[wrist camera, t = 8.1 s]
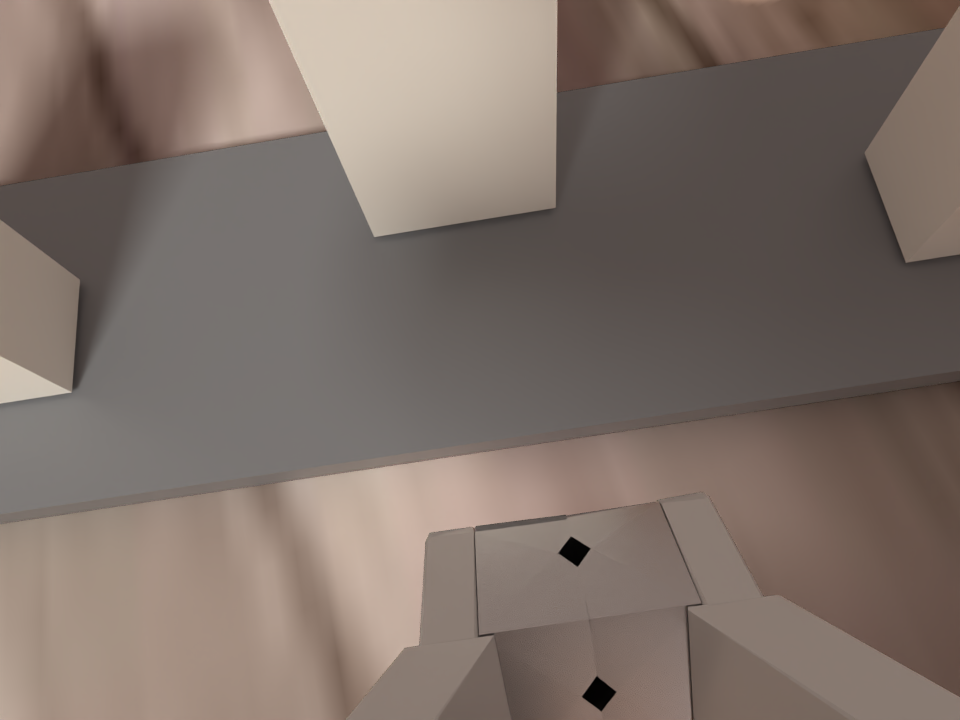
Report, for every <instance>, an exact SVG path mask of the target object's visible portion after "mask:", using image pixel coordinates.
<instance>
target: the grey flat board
mask: <svg viewBox="0 0 960 720" xmlns="http://www.w3.org/2000/svg"><path fill="white" fill-rule="evenodd" d="M944 29H945V28H940V29H934V30H928V31H922V32H916V33H910V34H904V35H898V36H893V37H887V38H881V39H875V40H869V41H863V42H857V43H851V44H845V45H839V46H833V47H827V48H821V49H815V50H809V51H803V52H797V53H791V54H785V55H779V56H773V57H767V58H761V59H755V60H749V61H743V62H737V63H731V64H725V65H719V66H714V67H708V68H702V69H696V70H690V71H684V72H678V73H672V74H666V75H660V76H654V77H648V78H642V79H636V80H630V81H624V82H618V83H612V84H606V85H600V86H594V87H588V88H582V89H576V90H570V91H564V92H558V93H557V113H556V208H551V209H545V210H539V211H533V212H527V213H520V214H514V215H508V216H502V217H496V218H489V219H483V220H477V221H471V222H465V223H458V224H452V225H446V226H440V227H434V228H427V229H421V230H415V231H409V232H403V233H397V234H390V235H384V236H378V237H374V235H373V233H372V231H371V229H370V226H369V224H368V222H367V220H366V217H365V215H364V213H363V211H362V208H361V206H360V204H359V202H358V200H357V197H356V195H355V193H354V191H353V188H352V186H351V184H350V182H349V179H348V177H347V175H346V173H345V170H344V168H343V166H342V164H341V161H340V159H339V157H338V155H337V152H336V150H335V148H334V146H333V143H332V141H331V139H330V137H329V135H328V132H327V131H326V132H320V133H314V134H308V135H302V136H296V137H290V138H284V139H278V140H272V141H266V142H260V143H254V144H248V145H242V146H236V147H230V148H224V149H218V150H212V151H206V152H200V153H194V154H188V155H182V156H177V157H171V158H165V159H159V160H153V161H147V162H141V163H135V164H129V165H123V166H117V167H111V168H105V169H99V170H93V171H87V172H81V173H75V174H69V175H63V176H57V177H51V178H45V179H39V180H33V181H27V182H21V183H15V184H9V185H3V186H0V220H1V221H3V222H4V223H5V224H7V225H8V226H9V227H11V228H12V229H13V230H15V231H16V232H17V233H19V234H20V235H21V236H23V237H24V238H25V239H27V240H28V241H29V242H31V243H32V244H33V245H35V246H36V247H37V248H39V249H40V250H41V251H42V252H44V253H45V254H46V255H48V256H49V257H50V258H52V259H53V260H54V261H56V262H57V263H58V264H60V265H61V266H62V267H64V268H65V269H66V270H68V271H69V272H70V273H72V274H73V275H74V276H76V277H77V278H78V279H80V286H79V300H78V314H77V328H76V342H75V356H74V370H73V384H72V392H71V393H65V394H58V395H52V396H46V397H39V398H33V399H26V400H20V401H13V402H7V403H1V404H0V524H2V523H9V522H16V521H23V520H29V519H36V518H43V517H50V516H56V515H63V514H70V513H76V512H83V511H90V510H97V509H103V508H110V507H117V506H123V505H130V504H137V503H144V502H150V501H157V500H164V499H170V498H177V497H184V496H191V495H197V494H204V493H211V492H217V491H224V490H231V489H238V488H244V487H251V486H258V485H264V484H271V483H278V482H285V481H291V480H298V479H305V478H311V477H318V476H325V475H332V474H338V473H345V472H352V471H359V470H365V469H372V468H379V467H385V466H392V465H399V464H406V463H412V462H419V461H426V460H432V459H439V458H446V457H453V456H459V455H466V454H473V453H479V452H486V451H493V450H500V449H506V448H513V447H520V446H526V445H533V444H540V443H547V442H553V441H560V440H567V439H573V438H580V437H587V436H594V435H600V434H607V433H614V432H620V431H627V430H634V429H641V428H647V427H654V426H661V425H668V424H674V423H681V422H688V421H694V420H701V419H708V418H715V417H721V416H728V415H735V414H741V413H748V412H755V411H762V410H768V409H775V408H782V407H788V406H795V405H802V404H809V403H815V402H822V401H829V400H835V399H842V398H849V397H856V396H862V395H869V394H876V393H882V392H889V391H896V390H903V389H909V388H916V387H923V386H929V385H936V384H943V383H950V382H956V381H960V254H959V255H952V256H946V257H939V258H933V259H926V260H920V261H914V262H907V263H906V262H905V259H904V256H903V254H902V251H901V248H900V246H899V243H898V240H897V238H896V235H895V232H894V230H893V227H892V225H891V222H890V219H889V217H888V214H887V211H886V209H885V206H884V203H883V201H882V198H881V195H880V193H879V190H878V188H877V185H876V182H875V180H874V177H873V174H872V172H871V169H870V166H869V164H868V161H867V158H866V156H865V151H866V150H867V148H868V147H869V145H870V144H871V142H872V140H873V139H874V137H875V136H876V134H877V133H878V131H879V130H880V128H881V126H882V125H883V123H884V122H885V120H886V119H887V117H888V116H889V114H890V113H891V111H892V109H893V108H894V106H895V105H896V103H897V102H898V100H899V99H900V97H901V96H902V94H903V92H904V91H905V89H906V88H907V86H908V85H909V83H910V82H911V80H912V79H913V77H914V75H915V74H916V72H917V71H918V69H919V68H920V66H921V65H922V63H923V62H924V60H925V58H926V57H927V55H928V54H929V52H930V51H931V49H932V48H933V46H934V45H935V43H936V41H937V40H938V38H939V37H940V35H941V34H942V32H943V31H944Z"/></svg>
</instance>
